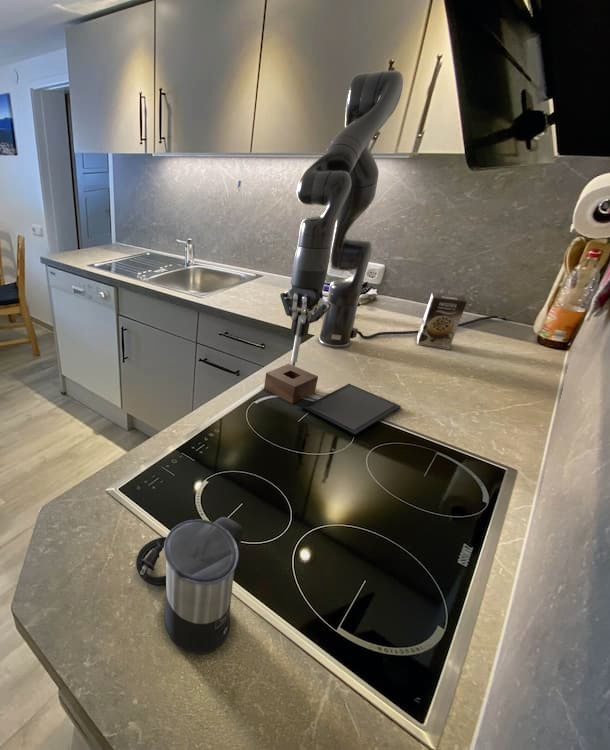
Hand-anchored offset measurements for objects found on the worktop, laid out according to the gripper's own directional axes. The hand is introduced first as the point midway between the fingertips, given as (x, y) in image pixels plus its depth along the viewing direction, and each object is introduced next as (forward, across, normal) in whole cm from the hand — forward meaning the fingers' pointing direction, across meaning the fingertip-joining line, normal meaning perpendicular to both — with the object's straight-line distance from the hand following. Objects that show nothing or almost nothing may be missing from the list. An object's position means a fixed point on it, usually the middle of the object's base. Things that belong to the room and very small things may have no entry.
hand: (298, 334), depth 104 cm
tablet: (+16, -15, -5) cm, 23 cm away
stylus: (+9, 0, 0) cm, 9 cm away
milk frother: (+17, -29, +61) cm, 70 cm away
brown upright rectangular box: (+16, -8, -63) cm, 66 cm away
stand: (+16, 0, 0) cm, 16 cm away
